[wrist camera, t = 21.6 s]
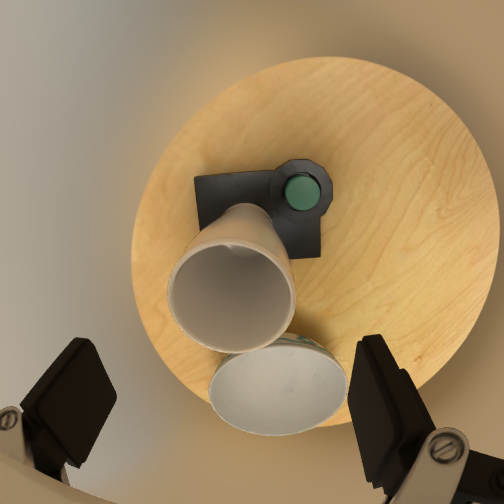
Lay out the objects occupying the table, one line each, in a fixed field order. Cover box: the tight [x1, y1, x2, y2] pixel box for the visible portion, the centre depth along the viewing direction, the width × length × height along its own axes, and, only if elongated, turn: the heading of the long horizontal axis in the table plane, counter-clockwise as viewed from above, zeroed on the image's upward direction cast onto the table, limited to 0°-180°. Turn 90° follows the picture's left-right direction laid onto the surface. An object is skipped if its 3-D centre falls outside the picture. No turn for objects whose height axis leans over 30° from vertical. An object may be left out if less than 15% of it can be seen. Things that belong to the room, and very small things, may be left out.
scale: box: [194, 159, 333, 259], centre depth 28 cm, size 10×13×3 cm
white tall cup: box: [167, 203, 296, 353], centre depth 21 cm, size 7×7×15 cm
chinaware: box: [209, 333, 348, 436], centre depth 31 cm, size 15×15×8 cm
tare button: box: [285, 175, 320, 210], centre depth 25 cm, size 3×3×2 cm
